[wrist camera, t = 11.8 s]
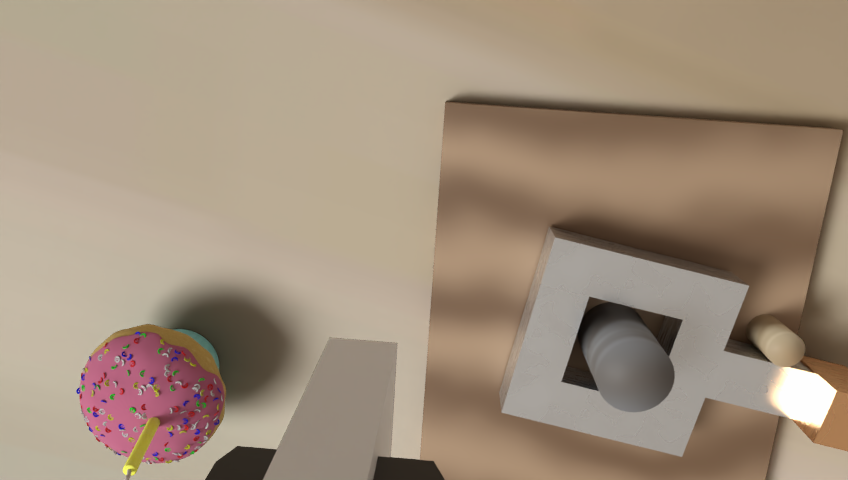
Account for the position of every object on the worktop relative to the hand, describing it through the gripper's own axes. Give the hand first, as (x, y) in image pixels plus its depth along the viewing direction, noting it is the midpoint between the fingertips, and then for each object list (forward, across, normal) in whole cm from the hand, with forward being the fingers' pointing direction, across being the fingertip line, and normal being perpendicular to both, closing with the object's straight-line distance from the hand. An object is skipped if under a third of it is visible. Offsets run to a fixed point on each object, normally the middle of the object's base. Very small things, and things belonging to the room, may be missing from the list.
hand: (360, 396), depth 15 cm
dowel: (+25, +21, -7) cm, 34 cm away
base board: (+26, +12, -8) cm, 30 cm away
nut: (+25, +16, -9) cm, 31 cm away
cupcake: (+27, -15, -13) cm, 33 cm away
